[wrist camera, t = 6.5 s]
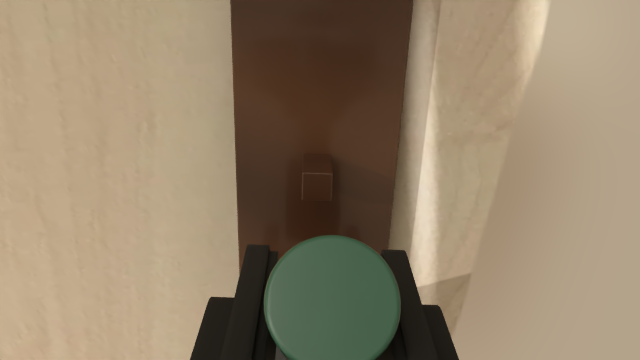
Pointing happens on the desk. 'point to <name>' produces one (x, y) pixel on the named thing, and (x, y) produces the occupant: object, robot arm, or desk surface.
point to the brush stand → (317, 118)
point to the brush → (331, 301)
